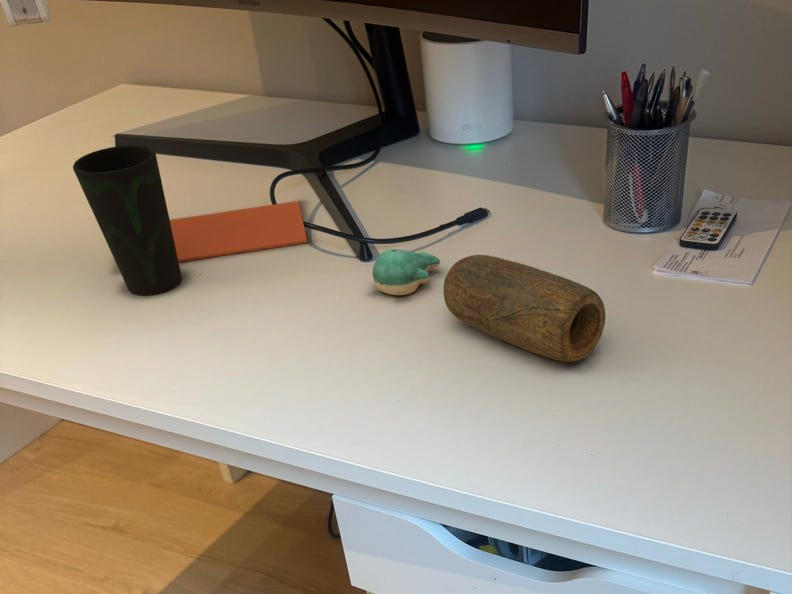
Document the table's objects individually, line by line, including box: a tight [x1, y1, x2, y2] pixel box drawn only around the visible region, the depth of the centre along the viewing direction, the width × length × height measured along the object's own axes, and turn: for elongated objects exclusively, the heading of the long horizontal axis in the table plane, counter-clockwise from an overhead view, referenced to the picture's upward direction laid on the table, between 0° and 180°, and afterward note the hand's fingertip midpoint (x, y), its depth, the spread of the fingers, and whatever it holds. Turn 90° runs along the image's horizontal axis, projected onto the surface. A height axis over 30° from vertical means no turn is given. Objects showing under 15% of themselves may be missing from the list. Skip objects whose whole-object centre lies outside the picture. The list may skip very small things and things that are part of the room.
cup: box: [72, 144, 183, 296], centre depth 89 cm, size 8×8×12 cm
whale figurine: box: [372, 248, 441, 296], centre depth 88 cm, size 6×7×4 cm
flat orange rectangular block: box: [170, 200, 308, 263], centre depth 101 cm, size 20×12×1 cm, turn 102°
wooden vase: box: [443, 254, 606, 363], centre depth 78 cm, size 15×7×7 cm, turn 48°
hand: (31, 22), depth 68 cm, fingers closed
